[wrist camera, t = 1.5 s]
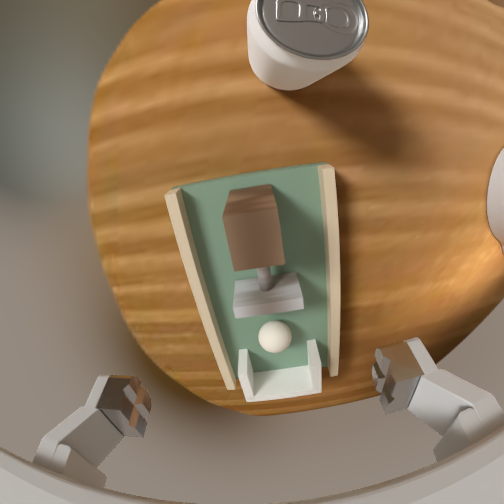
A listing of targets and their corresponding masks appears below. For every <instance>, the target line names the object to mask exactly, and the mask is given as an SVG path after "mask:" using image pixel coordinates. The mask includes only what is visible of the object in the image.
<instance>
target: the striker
mask: <svg viewBox="0 0 504 504" xmlns="http://www.w3.org/2000/svg"><path fill="white" fill-rule="evenodd" d="M222 219H223V224H224V228H225V233H226V237H227V242H228V246H229V251H230V255H231V260H232V264H233V269H234V272H236V271H243V270H250V269H256V270H257V275H258V278H252V279H245V280H238V281H235V288H234V299H233V311H234V315H235V318H244V317H252V316H260V315H267V314H274V313H281V312H287V311H294V310H300V309H304V303H303V296H302V292H301V288H300V284H299V280H298V277H297V273H296V272H292V273H285V274H279V275H272V276H271V270H270V266H276V265H283V264H285V259H284V252H283V244H282V237H281V230H280V222H279V215H278V209H277V205H276V201H275V198H274V194H273V191H272V187H271V184H265V185H259V186H252V187H246V188H240V189H234V190H230V191H229V195H228V198H227V202H226V205H225V208H224V212H223V215H222Z"/></svg>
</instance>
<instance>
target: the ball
mask: <svg viewBox="0 0 504 504" xmlns="http://www.w3.org/2000/svg"><path fill="white" fill-rule="evenodd" d="M291 338H292V335H291V331H290V329H289V327H288V326H287V325H286V324H285V323H283V322H281V321H277V320H273V321H269V322H267V323H265V324H264V325H263V326H262V327H261V329H260V331H259V335H258V339H259V343H260V345H261V346H262V348H263V349H265V350H266V351H268V352H271V353H279V352H282V351H284V350H285V349H286V348H287V347H288V346H289V344H290V342H291Z"/></svg>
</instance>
